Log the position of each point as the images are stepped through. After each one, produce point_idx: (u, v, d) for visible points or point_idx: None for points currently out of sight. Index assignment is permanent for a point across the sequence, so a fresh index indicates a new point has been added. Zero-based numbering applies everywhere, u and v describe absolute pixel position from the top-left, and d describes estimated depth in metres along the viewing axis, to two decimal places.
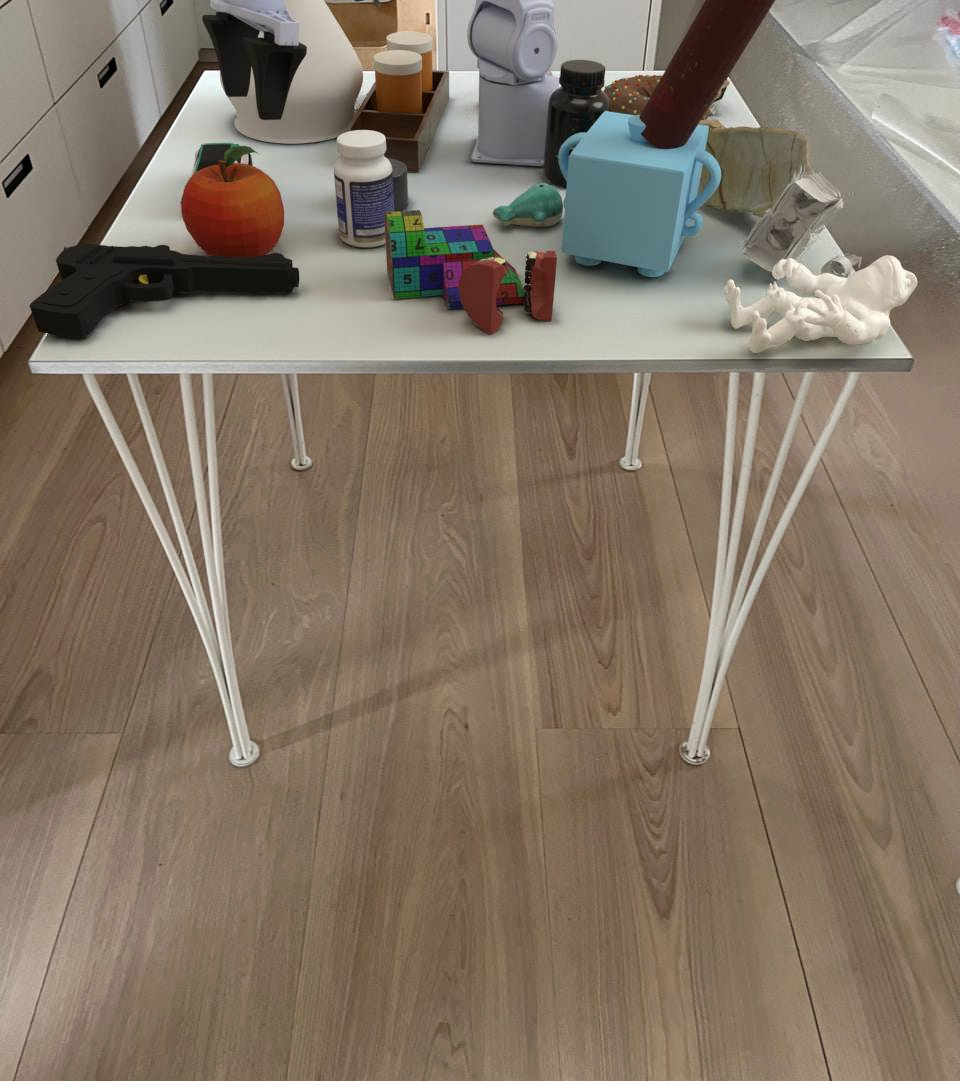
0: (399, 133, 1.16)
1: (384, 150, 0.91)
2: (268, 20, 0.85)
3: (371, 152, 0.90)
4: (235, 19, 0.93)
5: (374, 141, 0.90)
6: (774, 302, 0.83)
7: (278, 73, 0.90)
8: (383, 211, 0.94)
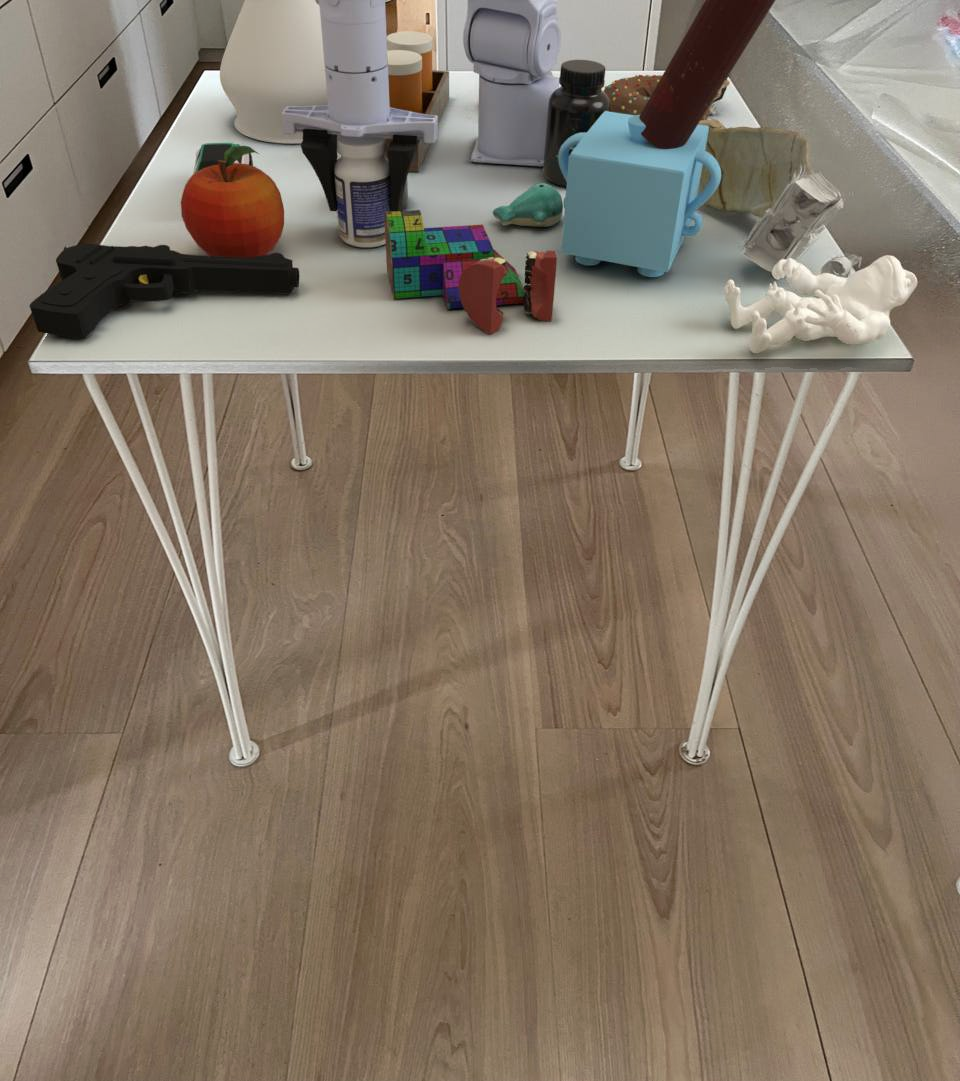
0: None
1: (384, 150, 0.91)
2: (416, 125, 0.88)
3: (371, 152, 0.90)
4: (329, 136, 0.91)
5: (374, 141, 0.90)
6: (774, 302, 0.83)
7: None
8: (383, 211, 0.94)
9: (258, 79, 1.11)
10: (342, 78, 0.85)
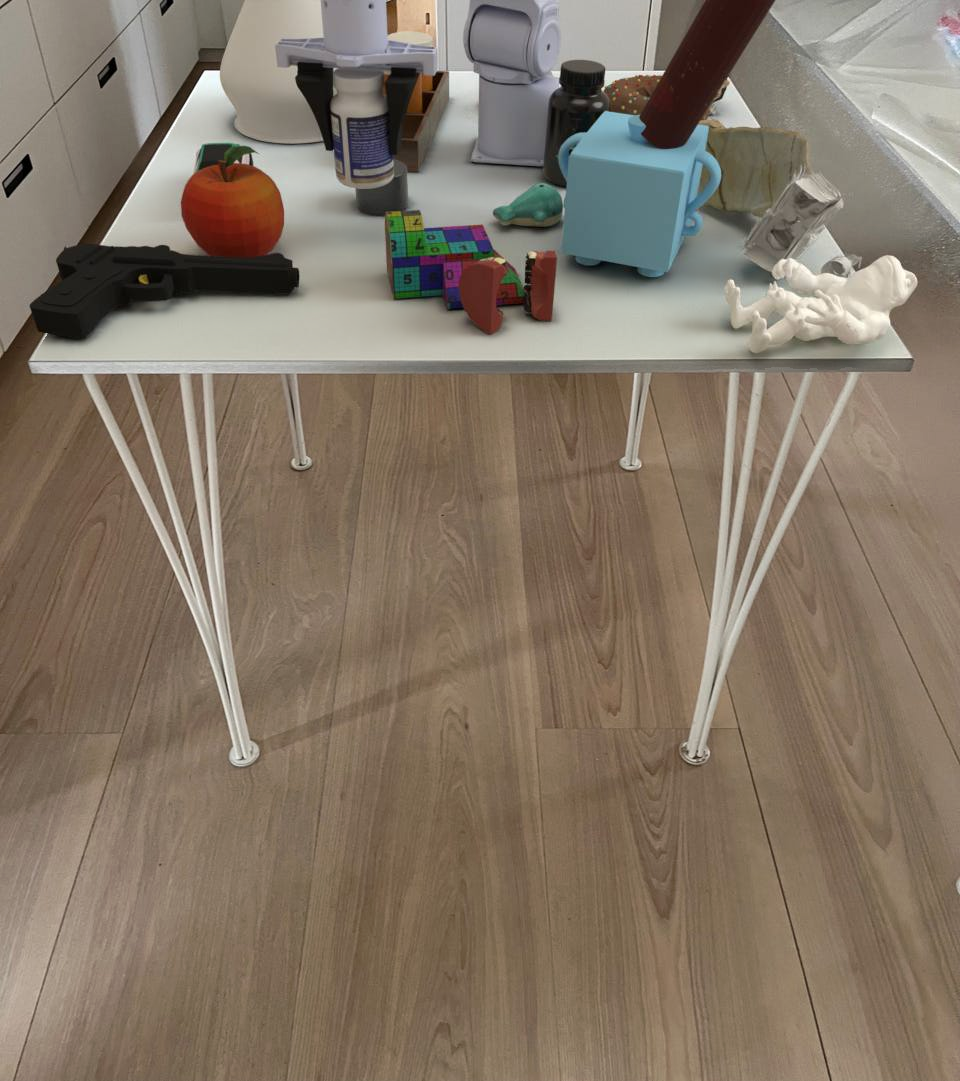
0: None
1: (382, 84, 0.87)
2: (415, 56, 0.85)
3: (368, 86, 0.86)
4: (325, 70, 0.87)
5: (372, 74, 0.87)
6: (774, 302, 0.83)
7: None
8: (381, 150, 0.90)
9: (258, 80, 1.11)
10: (338, 4, 0.81)
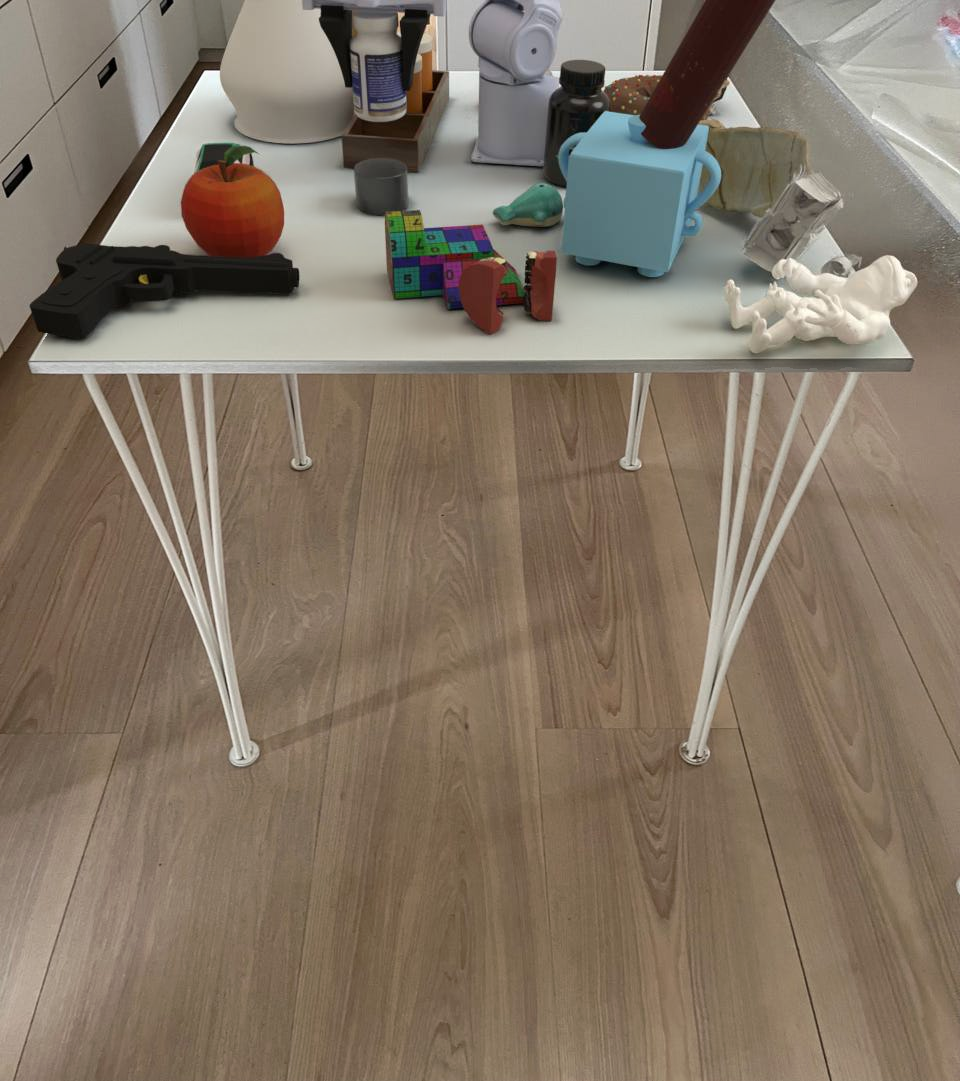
0: (399, 133, 1.16)
1: (397, 25, 0.98)
2: None
3: (384, 25, 0.96)
4: (345, 12, 0.98)
5: (387, 16, 0.97)
6: (774, 302, 0.83)
7: None
8: (396, 85, 1.00)
9: (258, 79, 1.11)
10: None
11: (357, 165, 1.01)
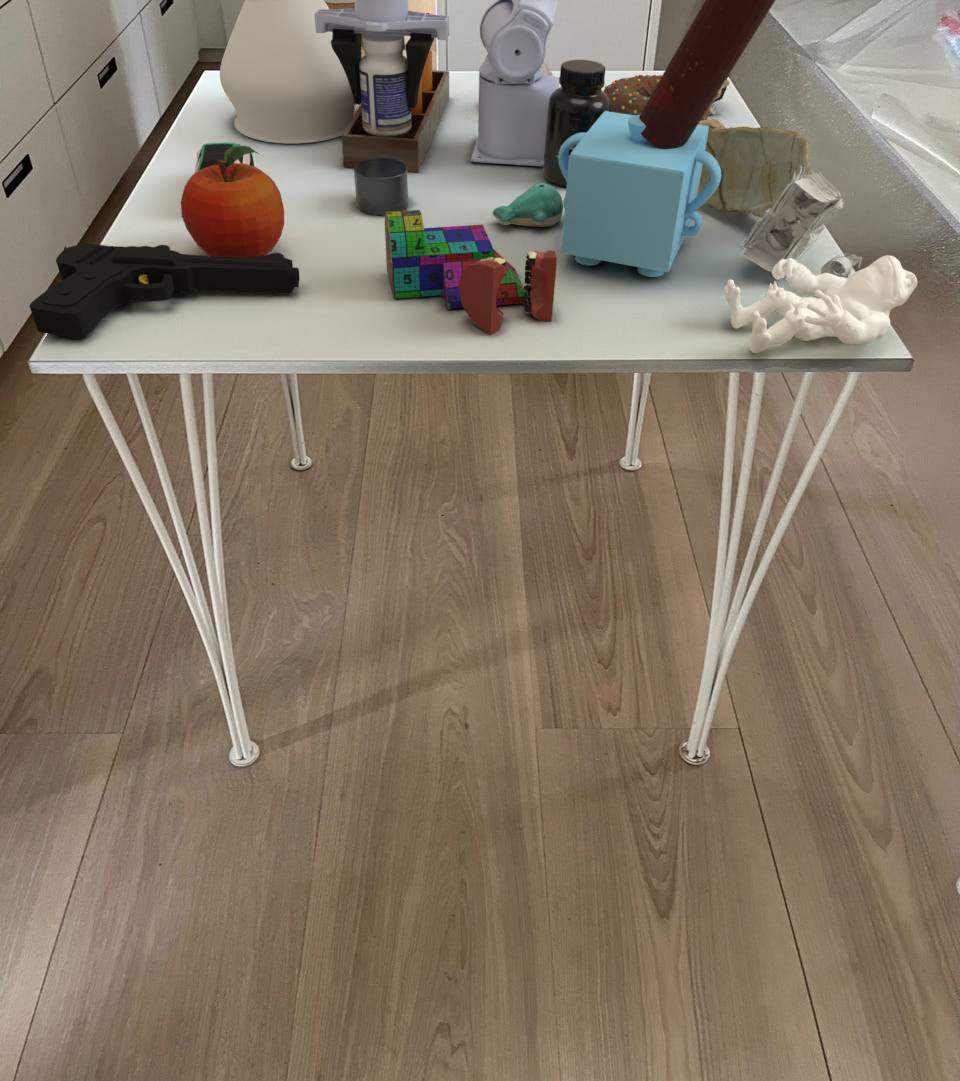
0: None
1: (403, 47, 1.05)
2: (430, 23, 1.02)
3: (391, 48, 1.04)
4: (355, 35, 1.05)
5: (394, 39, 1.04)
6: (774, 302, 0.83)
7: None
8: (402, 103, 1.08)
9: (258, 79, 1.11)
10: None
11: (357, 165, 1.01)
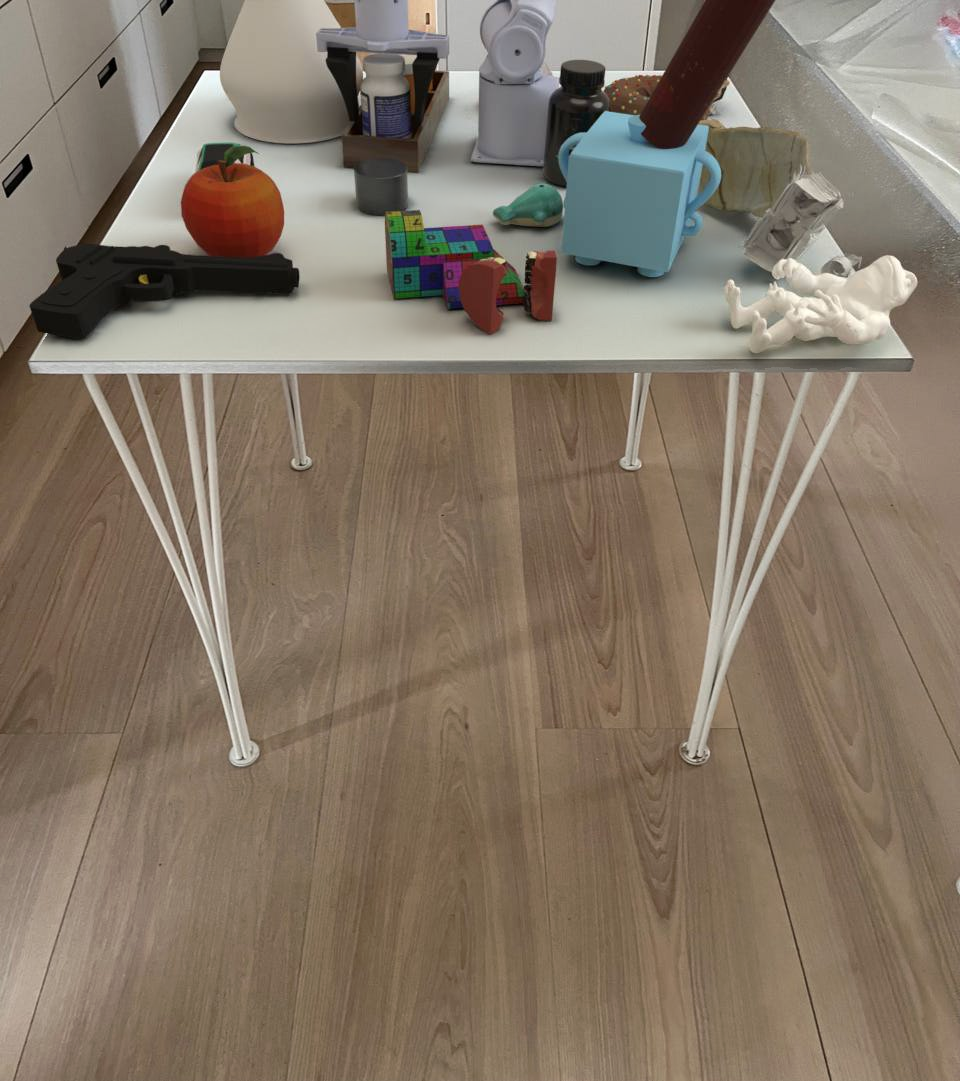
0: None
1: (403, 69, 1.07)
2: (431, 42, 1.04)
3: (392, 70, 1.05)
4: (350, 53, 1.06)
5: (395, 61, 1.06)
6: (774, 302, 0.83)
7: None
8: (402, 123, 1.09)
9: (258, 79, 1.11)
10: (369, 0, 1.00)
11: (357, 165, 1.01)
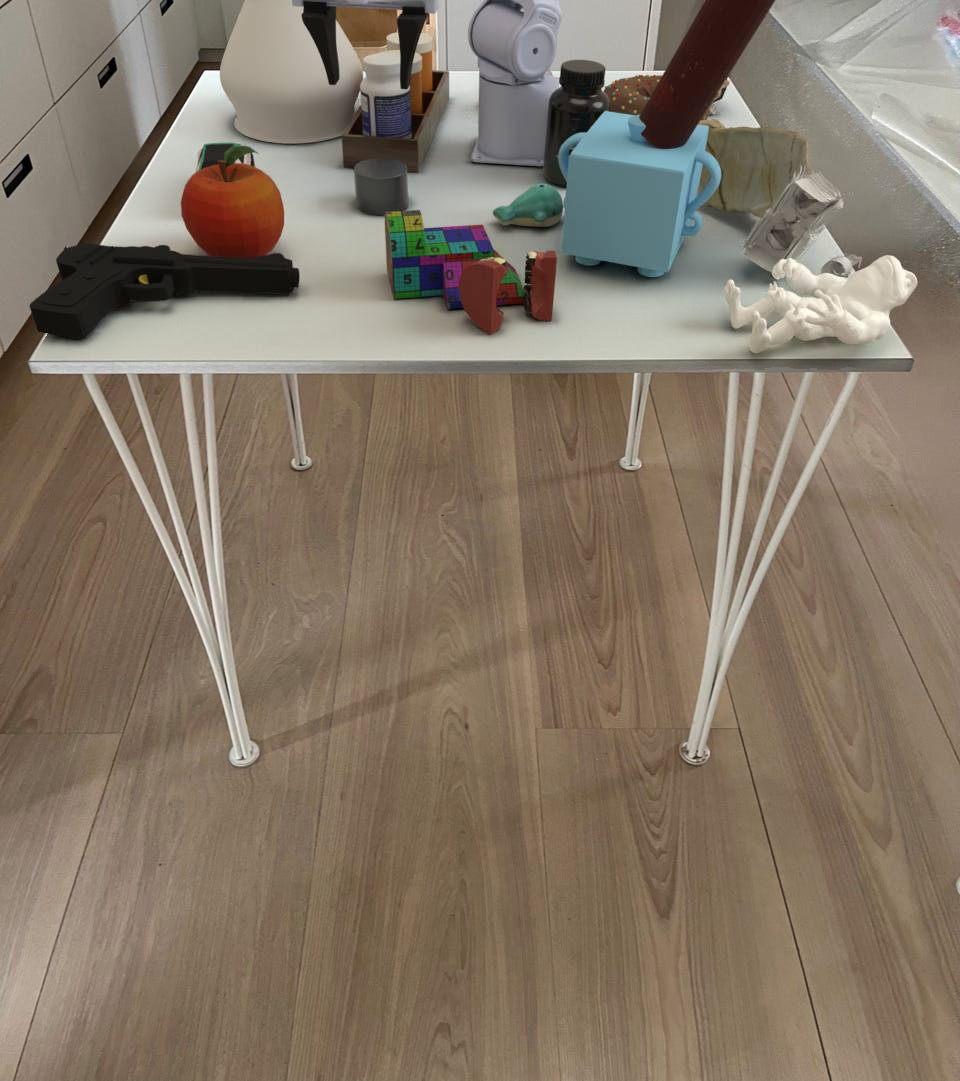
0: None
1: None
2: None
3: (392, 70, 1.05)
4: (328, 8, 0.96)
5: (395, 61, 1.06)
6: (774, 302, 0.83)
7: None
8: (402, 123, 1.09)
9: (258, 79, 1.11)
10: None
11: (357, 165, 1.01)
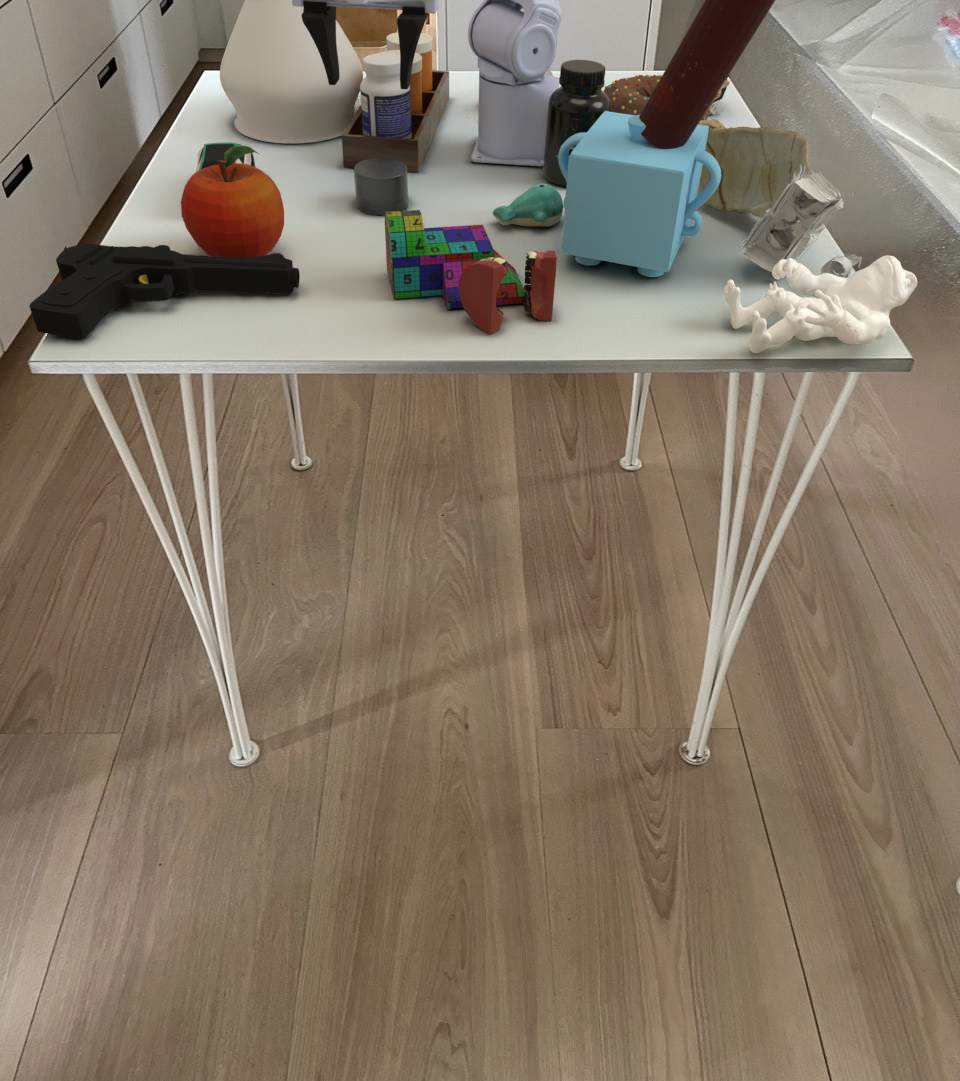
0: None
1: None
2: None
3: (392, 70, 1.05)
4: (328, 8, 0.96)
5: (395, 61, 1.06)
6: (774, 302, 0.83)
7: None
8: (402, 123, 1.09)
9: (258, 79, 1.11)
10: None
11: (357, 165, 1.01)
